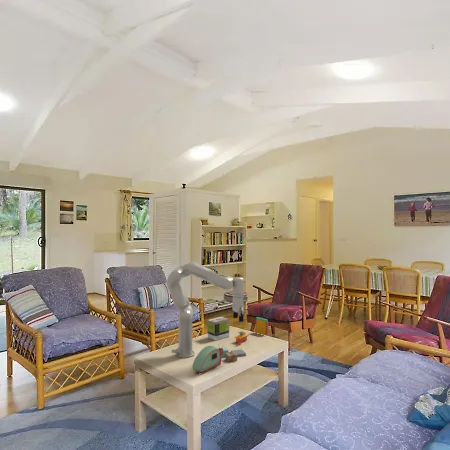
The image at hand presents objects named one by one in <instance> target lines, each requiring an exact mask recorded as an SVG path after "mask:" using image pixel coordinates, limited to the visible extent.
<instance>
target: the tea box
mask: <svg viewBox="0 0 450 450" xmlns="http://www.w3.org/2000/svg"><path fill="white" fill-rule="evenodd" d="M206 322H207V323H206V324H207V338H208V339H210V340H213V341H218V340H223V339H226V338H229V337H230V318H227V317H224V316H217V317H214V318H210V319H207V321H206Z"/></svg>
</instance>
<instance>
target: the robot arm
mask: <svg viewBox="0 0 450 450" xmlns="http://www.w3.org/2000/svg"><path fill="white" fill-rule="evenodd" d="M189 276H193V277H195V278H197V279H200V280H203V281H205V282H208V283H210V284H212V285H214V286H216V287H219V288H221V289H223V290H225V291H227V290H228V291H229V290H231V289H232V303H231V304H232V306H231V309H232V311H233V312H232V313H233V315H232V316H233V319H238V322H239V323H242V322H244V320H245V318H244V315H245V310H244V309H245V307H244V306H245V305H244V304H245V303H244V297H245V296H244V295H245V293H244V292H245V291H244V290H245V289H244V288H245V286H244V285H245V284H244V283H245V281H244V278H243V277H241V276H235V277H233V276H223V275H220V274H218V273H216V272H215V271H214V270H212V269H211V268H208V267H205V266H203V265H201V264H199V263H198V262H196V261H191V262H188V263H186V264H184V265H183V264H182V265H180V266H179V267H176V268H174V269H173V270H172V271H171V272H170V273H169V275H168V277H167V279H166V285H167V289H168V291H169V294H170V297H171V300H172V304H173V305H174V307H175V308H177V309H178V312H179V313H178V317H177V321H178V322H177V323H178V347H177V348H175V349H171V353H173V354H176V355H175V356H177V357H178V358H183V359H184V358H185V359H186V358H191V357H194V355H195V351H194V350H193V317H194V310H193V307H192V303H191V302H190V300H189V297H188V295H187V294H186V293H185V292H183V289H182V286H181V285H180V282H181V280H183V279H184V278H187V277H189Z"/></svg>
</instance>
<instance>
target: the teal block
mask: <svg viewBox="0 0 450 450" xmlns="http://www.w3.org/2000/svg"><path fill="white" fill-rule="evenodd" d="M221 348H222V347H221ZM222 349H223V353H222V358H226V353H227V352H229V349H228V348H227V347H223V348H222Z"/></svg>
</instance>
